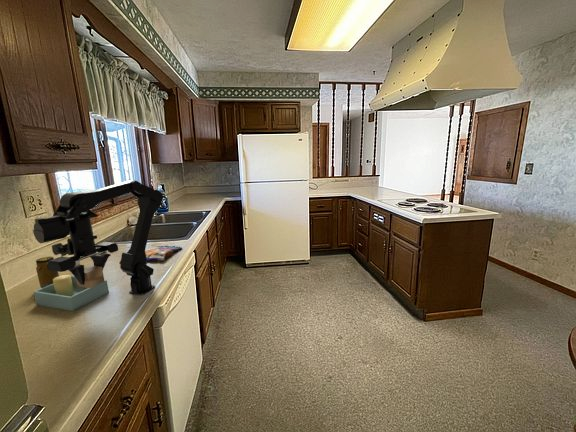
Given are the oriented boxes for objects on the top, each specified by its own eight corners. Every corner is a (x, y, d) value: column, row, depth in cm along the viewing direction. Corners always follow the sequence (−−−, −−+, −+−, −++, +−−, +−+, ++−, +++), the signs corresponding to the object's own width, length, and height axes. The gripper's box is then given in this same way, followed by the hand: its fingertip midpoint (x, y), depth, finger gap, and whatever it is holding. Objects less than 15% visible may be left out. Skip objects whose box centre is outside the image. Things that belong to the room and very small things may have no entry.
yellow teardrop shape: (77, 292, 101) (74, 275, 100) (64, 299, 96) (60, 281, 95) (67, 291, 102) (63, 274, 101) (53, 298, 98) (49, 280, 96)
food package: (125, 264, 131) (123, 256, 130) (155, 247, 155) (154, 240, 154) (167, 265, 128) (166, 257, 127) (192, 248, 152) (191, 241, 151)
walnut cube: (92, 279, 90) (90, 265, 89) (104, 281, 88) (101, 266, 87) (77, 286, 85) (74, 271, 84) (89, 288, 84) (86, 273, 83)
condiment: (48, 283, 111) (42, 255, 108) (70, 282, 112) (64, 254, 109) (34, 292, 104) (26, 262, 101) (57, 290, 105) (51, 261, 102)
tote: (74, 287, 107) (72, 275, 106) (108, 292, 102) (106, 280, 101) (36, 304, 95) (33, 291, 93) (73, 311, 90) (70, 297, 89)
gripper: (90, 225, 94) (98, 267, 97) (27, 241, 77) (39, 291, 80) (115, 226, 91) (123, 269, 94) (56, 243, 74) (67, 296, 77)
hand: (90, 280), depth 87 cm, fingers closed on walnut cube, 5 cm apart
